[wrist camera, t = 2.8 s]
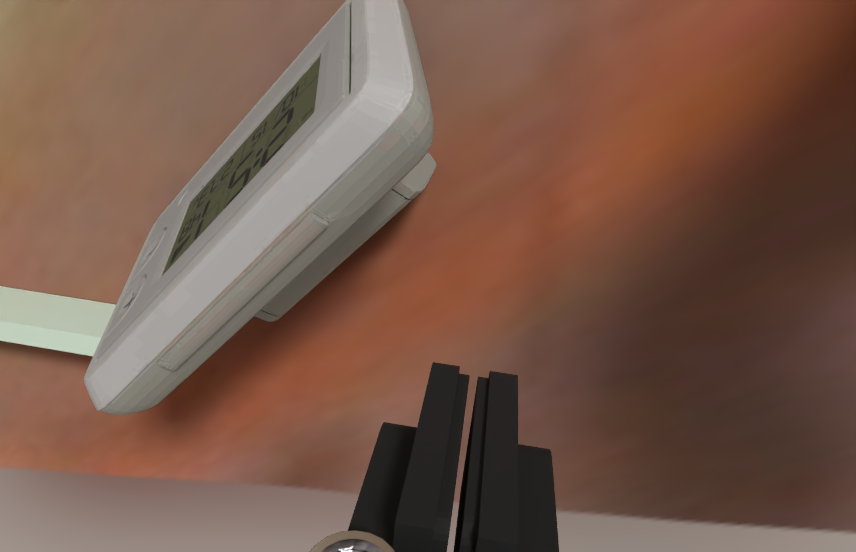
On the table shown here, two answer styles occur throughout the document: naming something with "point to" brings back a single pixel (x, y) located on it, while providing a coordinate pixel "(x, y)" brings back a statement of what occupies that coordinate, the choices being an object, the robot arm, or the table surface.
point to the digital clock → (274, 204)
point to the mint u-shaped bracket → (52, 320)
